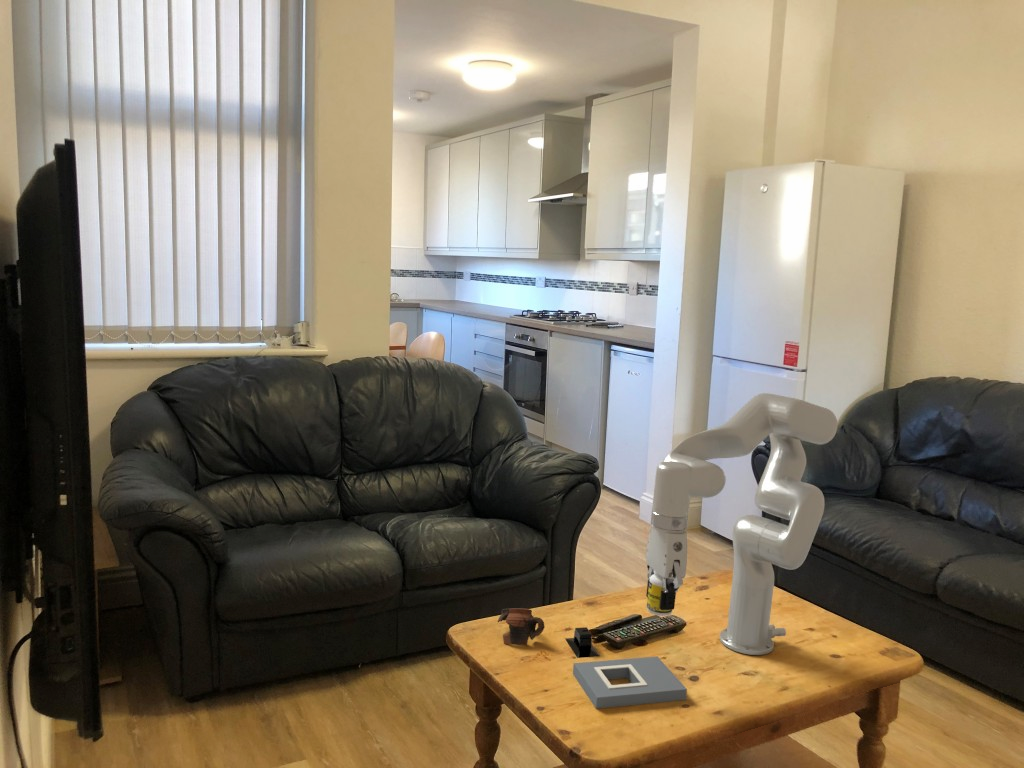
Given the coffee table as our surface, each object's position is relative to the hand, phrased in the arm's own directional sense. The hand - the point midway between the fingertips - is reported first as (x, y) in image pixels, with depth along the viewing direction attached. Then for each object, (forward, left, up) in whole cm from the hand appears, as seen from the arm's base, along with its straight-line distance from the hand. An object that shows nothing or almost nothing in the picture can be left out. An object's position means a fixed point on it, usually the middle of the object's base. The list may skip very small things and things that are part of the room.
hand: (659, 602), depth 170 cm
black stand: (+10, -18, -19) cm, 28 cm away
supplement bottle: (0, 0, -2) cm, 2 cm away
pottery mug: (+23, -24, -19) cm, 38 cm away
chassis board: (+6, +1, -18) cm, 19 cm away
